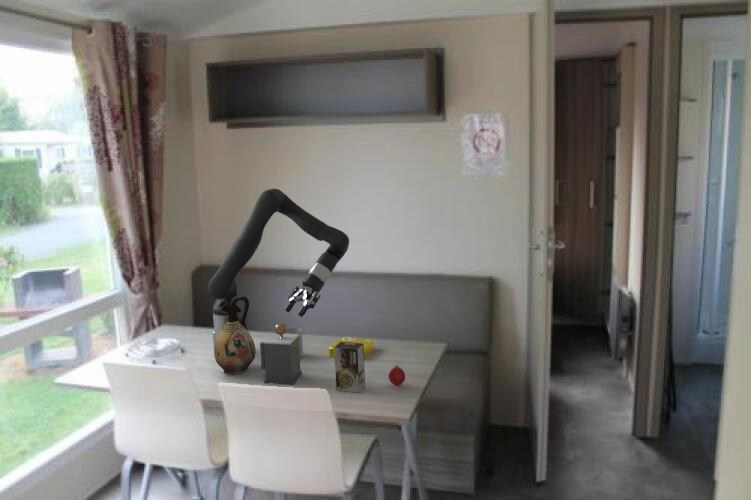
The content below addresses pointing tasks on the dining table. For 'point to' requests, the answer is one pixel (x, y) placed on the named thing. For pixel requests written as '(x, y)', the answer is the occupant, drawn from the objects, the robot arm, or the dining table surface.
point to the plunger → (280, 329)
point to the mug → (299, 331)
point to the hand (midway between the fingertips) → (293, 313)
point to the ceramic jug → (234, 339)
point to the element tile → (366, 342)
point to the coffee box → (349, 367)
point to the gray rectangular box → (281, 359)
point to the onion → (396, 376)
